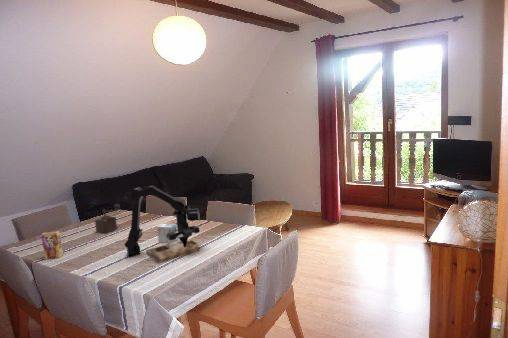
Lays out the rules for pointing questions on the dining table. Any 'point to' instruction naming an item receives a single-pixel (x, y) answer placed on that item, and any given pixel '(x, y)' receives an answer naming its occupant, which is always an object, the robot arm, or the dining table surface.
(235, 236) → the dining table surface
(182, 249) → the cubby
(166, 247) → the deck
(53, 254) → the candy box
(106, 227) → the brown box
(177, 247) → the cream block
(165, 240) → the light bulb box
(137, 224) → the robot arm
